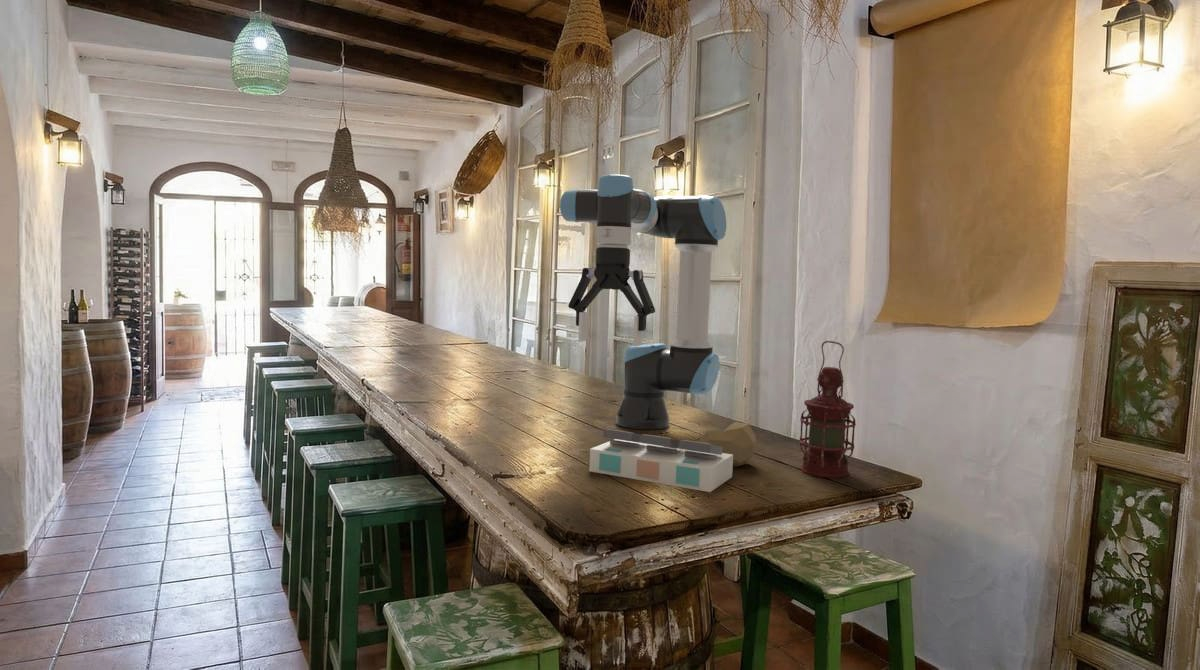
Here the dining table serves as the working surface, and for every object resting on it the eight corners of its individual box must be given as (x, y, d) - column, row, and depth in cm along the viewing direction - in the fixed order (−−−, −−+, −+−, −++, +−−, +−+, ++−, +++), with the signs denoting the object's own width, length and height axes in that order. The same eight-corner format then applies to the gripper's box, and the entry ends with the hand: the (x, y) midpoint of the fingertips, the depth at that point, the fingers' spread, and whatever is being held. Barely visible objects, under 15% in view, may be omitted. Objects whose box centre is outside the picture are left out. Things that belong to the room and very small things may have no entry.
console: (617, 458, 188) (618, 433, 187) (732, 477, 175) (733, 450, 175) (588, 471, 175) (589, 444, 175) (709, 492, 163) (711, 463, 162)
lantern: (786, 466, 186) (794, 338, 183) (829, 463, 190) (837, 338, 188) (819, 480, 175) (827, 344, 172) (864, 477, 179) (873, 344, 176)
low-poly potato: (757, 461, 192) (719, 433, 197) (774, 428, 186) (734, 400, 191) (724, 489, 181) (685, 459, 186) (740, 455, 175) (699, 425, 180)
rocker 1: (618, 439, 184) (619, 431, 184) (645, 443, 181) (646, 435, 181) (602, 437, 177) (604, 428, 177) (631, 441, 174) (632, 432, 174)
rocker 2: (691, 450, 176) (692, 441, 176) (721, 455, 172) (722, 445, 173) (678, 448, 169) (679, 439, 169) (709, 453, 165) (711, 443, 166)
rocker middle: (653, 444, 180) (655, 436, 180) (682, 449, 177) (684, 440, 177) (639, 442, 173) (640, 433, 173) (669, 447, 169) (670, 437, 170)
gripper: (555, 245, 177) (552, 340, 179) (658, 247, 166) (654, 349, 168) (572, 246, 184) (569, 337, 186) (672, 248, 172) (668, 346, 174)
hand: (609, 343), depth 177 cm, fingers open, 13 cm apart
